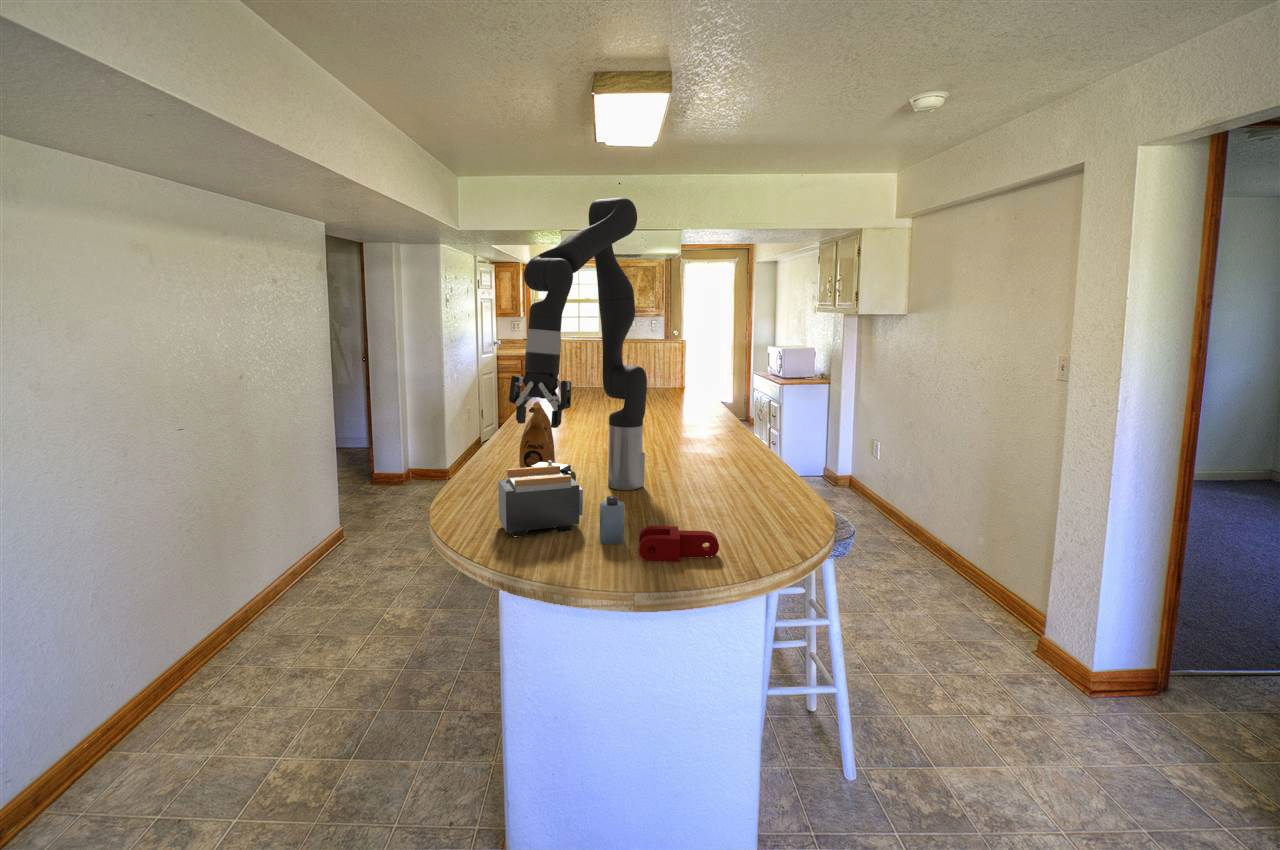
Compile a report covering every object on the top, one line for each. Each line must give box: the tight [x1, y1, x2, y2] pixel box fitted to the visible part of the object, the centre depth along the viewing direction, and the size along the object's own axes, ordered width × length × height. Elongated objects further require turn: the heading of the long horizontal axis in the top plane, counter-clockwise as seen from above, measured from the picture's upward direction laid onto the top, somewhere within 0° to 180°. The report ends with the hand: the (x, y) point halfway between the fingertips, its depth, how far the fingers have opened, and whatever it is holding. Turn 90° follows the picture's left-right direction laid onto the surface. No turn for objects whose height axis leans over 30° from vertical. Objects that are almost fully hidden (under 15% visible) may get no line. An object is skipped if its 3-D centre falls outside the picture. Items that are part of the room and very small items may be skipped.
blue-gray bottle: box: [599, 495, 626, 546], centre depth 139 cm, size 5×5×10 cm
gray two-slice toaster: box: [497, 465, 584, 538], centre depth 145 cm, size 17×10×13 cm, turn 112°
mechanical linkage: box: [638, 525, 720, 563], centre depth 132 cm, size 16×7×5 cm, turn 90°
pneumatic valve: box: [529, 461, 577, 482], centre depth 159 cm, size 6×12×12 cm, turn 72°
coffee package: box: [518, 401, 556, 468], centre depth 181 cm, size 10×12×22 cm
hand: (537, 425), depth 144 cm, fingers open, 8 cm apart
